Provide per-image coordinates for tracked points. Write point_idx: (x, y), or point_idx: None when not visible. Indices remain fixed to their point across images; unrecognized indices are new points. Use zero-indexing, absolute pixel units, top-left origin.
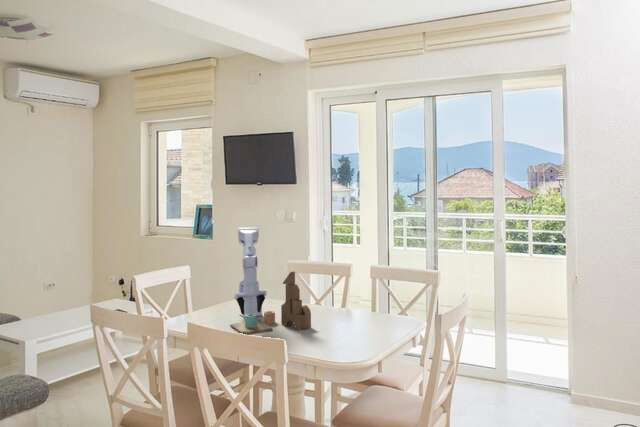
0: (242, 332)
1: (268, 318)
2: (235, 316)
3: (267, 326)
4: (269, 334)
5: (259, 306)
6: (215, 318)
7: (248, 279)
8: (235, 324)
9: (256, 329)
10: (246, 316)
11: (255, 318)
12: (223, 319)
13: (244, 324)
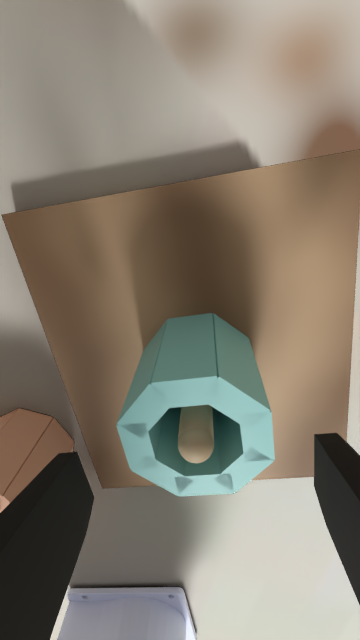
0: (356, 150)
1: (17, 449)
2: (226, 620)
3: (49, 298)
4: (53, 45)
5: (18, 540)
6: (349, 628)
7: None
8: (307, 457)
9: (172, 226)
10: (269, 407)
11: (149, 370)
12: (313, 600)
13: None
